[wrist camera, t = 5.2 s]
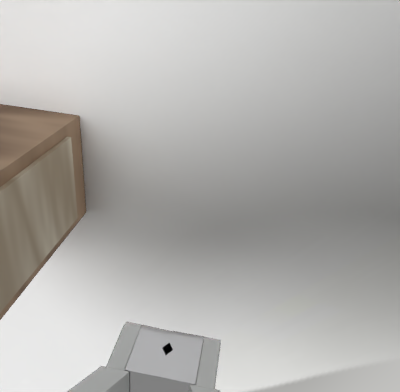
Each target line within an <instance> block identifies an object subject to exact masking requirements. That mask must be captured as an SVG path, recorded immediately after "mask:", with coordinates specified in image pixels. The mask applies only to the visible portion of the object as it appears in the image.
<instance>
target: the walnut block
mask: <svg viewBox="0 0 400 392" xmlns="http://www.w3.org/2000/svg"><path fill="white" fill-rule="evenodd" d="M85 213H86V203H85V189H84V175H83V160H82V146H81V131H80V117H79V116H78V115H71V114H64V113H57V112H50V111H44V110H37V109H30V108H23V107H16V106H9V105H2V104H0V320H1V318H2V317H3V316H4V315H5V313H6V312H7V311H8V310H9V308H10V307H11V306H12V305H13V303H14V302H15V301H16V300H17V298H18V297H19V296H20V295H21V293H22V292H23V291H24V290H25V288H26V287H27V286H28V285H29V283H30V282H31V281H32V279H33V278H34V277H35V276H36V274H37V273H38V272H39V271H40V269H41V268H42V267H43V266H44V264H45V263H46V262H47V261H48V259H49V258H50V257H51V256H52V254H53V253H54V252H55V251H56V249H57V248H58V247H59V246H60V244H61V243H62V242H63V241H64V239H65V238H66V237H67V236H68V234H69V233H70V232H71V231H72V229H73V228H74V227H75V226H76V224H77V223H78V222H79V221H80V219H81V218H82V217H83V216H84V214H85Z"/></svg>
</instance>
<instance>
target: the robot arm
mask: <svg viewBox="0 0 400 392" xmlns="http://www.w3.org/2000/svg"><path fill="white" fill-rule="evenodd" d="M220 344H221V341H220V340H218V339H213V338H207V337H204V336H198V335H193V334H187V333H182V332H176V331H168V330H164V329H159V328H155V327H150V326H146V325H141V324H136V323H131V322H126V323H125V325H124V326H123V328H122V331H121V333H120V335H119V338H118V340H117V342H116V345H115V347H114V349H113V352H112V354H111V357H110V359H109V361H108V364H107V366H106V367H104V366H101V367H99V368H98V369H97V370H95V371H94V372H93V373H91V374H90V375H89V376H87V377H86V378H85V379H83V380H82V381H81V382H79V383H78V384H77V385H75V386H74V387H73V388H71V389H70V390H69V391H67V392H220V390H216V389H215V382H216V375H217V367H218V360H219V352H220Z"/></svg>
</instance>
